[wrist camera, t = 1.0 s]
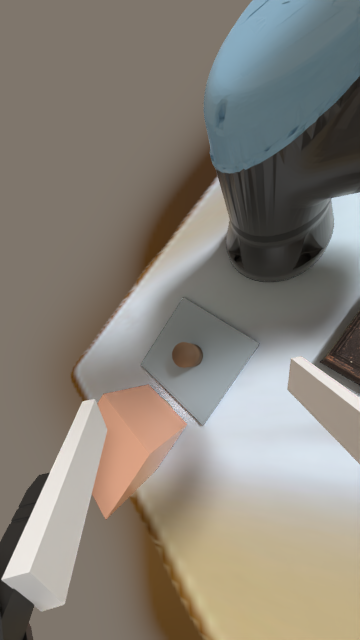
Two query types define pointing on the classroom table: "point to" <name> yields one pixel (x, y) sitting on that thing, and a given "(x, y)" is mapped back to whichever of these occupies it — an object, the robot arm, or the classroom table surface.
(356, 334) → the hardcover book
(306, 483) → the classroom table surface
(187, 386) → the felt mat
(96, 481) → the pink block
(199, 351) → the walnut cylinder
